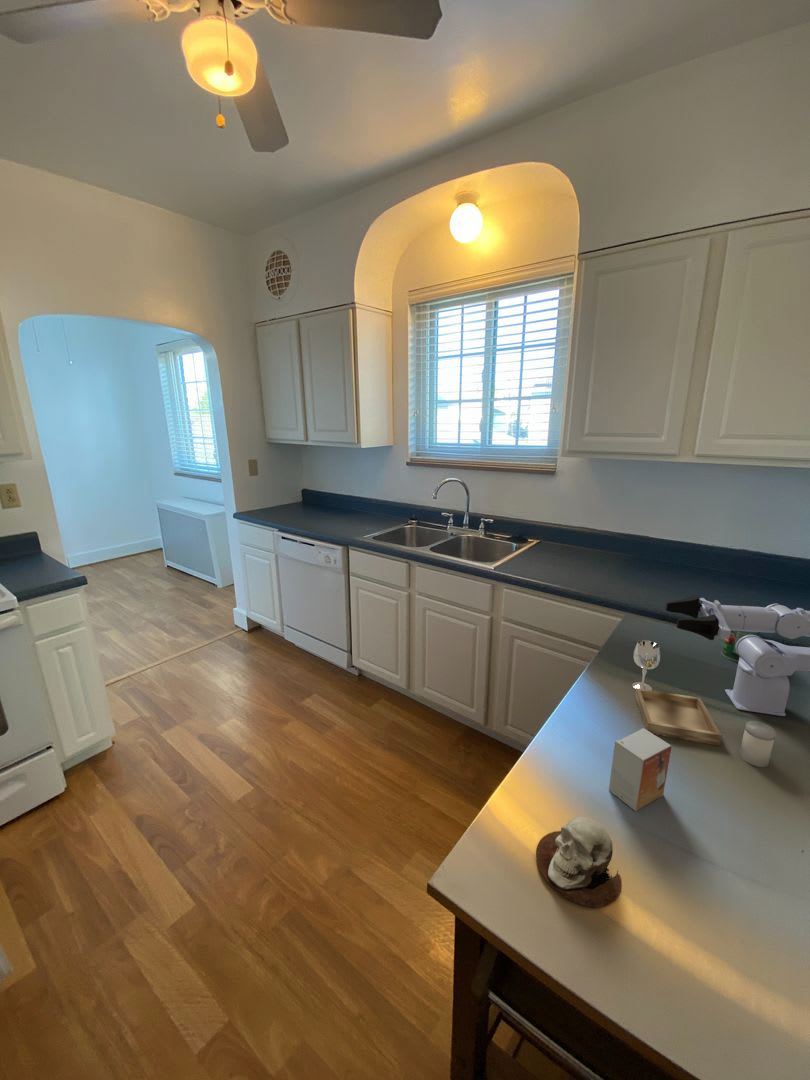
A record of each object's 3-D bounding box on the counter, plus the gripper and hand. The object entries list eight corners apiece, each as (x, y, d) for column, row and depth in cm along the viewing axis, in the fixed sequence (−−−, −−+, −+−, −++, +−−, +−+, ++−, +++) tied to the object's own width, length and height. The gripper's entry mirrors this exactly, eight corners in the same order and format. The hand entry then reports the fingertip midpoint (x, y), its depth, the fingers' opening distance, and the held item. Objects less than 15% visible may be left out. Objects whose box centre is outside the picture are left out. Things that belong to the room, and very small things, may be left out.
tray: (698, 707, 104) (700, 697, 104) (719, 745, 92) (721, 735, 91) (634, 697, 108) (635, 688, 107) (646, 733, 95) (648, 723, 95)
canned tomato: (761, 663, 123) (769, 627, 120) (733, 663, 123) (740, 627, 120) (741, 649, 131) (748, 614, 128) (714, 649, 131) (720, 615, 128)
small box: (635, 813, 76) (643, 761, 73) (607, 790, 81) (613, 740, 78) (664, 795, 79) (673, 745, 77) (636, 774, 84) (643, 726, 82)
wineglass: (659, 694, 109) (666, 650, 106) (636, 694, 109) (642, 650, 106) (647, 681, 115) (654, 639, 112) (625, 681, 115) (631, 638, 112)
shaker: (762, 752, 90) (769, 723, 88) (773, 769, 85) (780, 738, 84) (735, 748, 91) (741, 718, 89) (745, 764, 87) (751, 733, 85)
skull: (585, 927, 58) (550, 839, 62) (542, 911, 66) (513, 834, 70) (647, 885, 63) (611, 805, 67) (599, 874, 71) (570, 804, 75)
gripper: (726, 587, 107) (664, 585, 109) (757, 620, 93) (686, 616, 96) (720, 613, 109) (660, 610, 112) (750, 648, 96) (680, 643, 99)
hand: (671, 614), depth 104 cm, fingers open, 7 cm apart
